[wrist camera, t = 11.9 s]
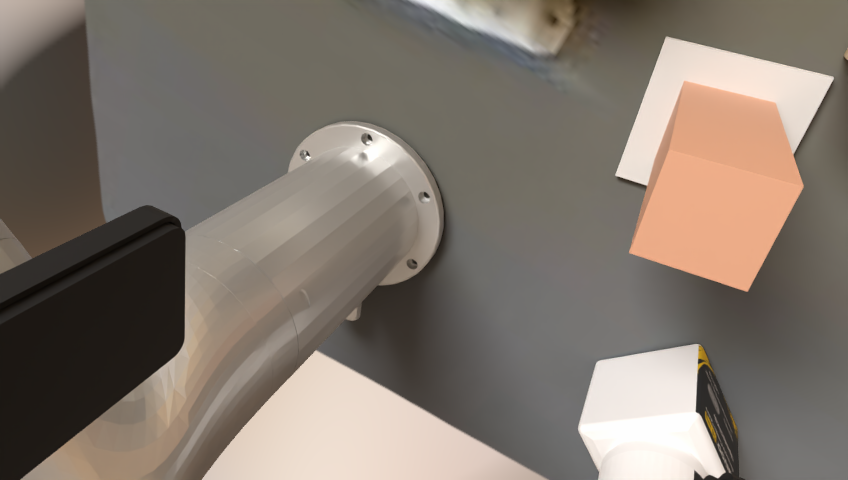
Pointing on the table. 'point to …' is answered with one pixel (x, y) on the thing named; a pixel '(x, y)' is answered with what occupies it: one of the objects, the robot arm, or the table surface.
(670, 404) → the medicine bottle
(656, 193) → the plug
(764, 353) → the table surface
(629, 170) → the mat
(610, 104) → the table surface
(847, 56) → the beige square frame
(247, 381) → the robot arm
